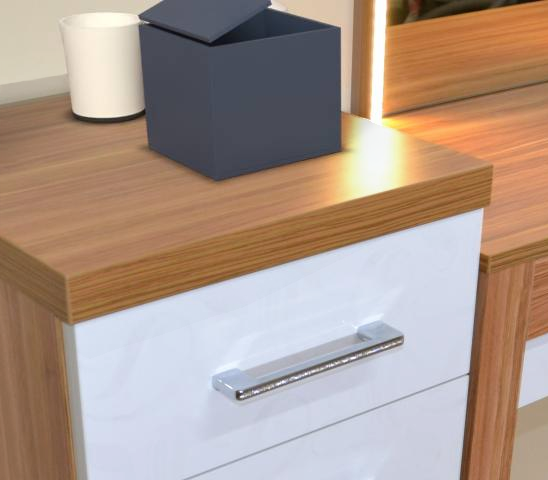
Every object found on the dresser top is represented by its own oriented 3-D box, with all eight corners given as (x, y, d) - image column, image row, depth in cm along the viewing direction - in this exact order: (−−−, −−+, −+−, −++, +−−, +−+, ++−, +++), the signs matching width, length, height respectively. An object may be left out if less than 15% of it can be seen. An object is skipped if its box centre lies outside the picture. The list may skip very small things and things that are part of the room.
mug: (92, 129, 123) (82, 32, 119) (55, 111, 130) (44, 18, 125) (180, 111, 130) (173, 19, 125) (141, 95, 136) (133, 6, 131)
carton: (216, 181, 109) (209, 48, 103) (148, 147, 118) (138, 24, 112) (341, 151, 117) (341, 27, 112) (268, 122, 126) (265, 6, 121)
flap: (210, 43, 103) (208, 38, 103) (139, 19, 112) (137, 15, 112) (272, 4, 106) (270, -1, 105) (198, -16, 115) (196, -20, 114)
